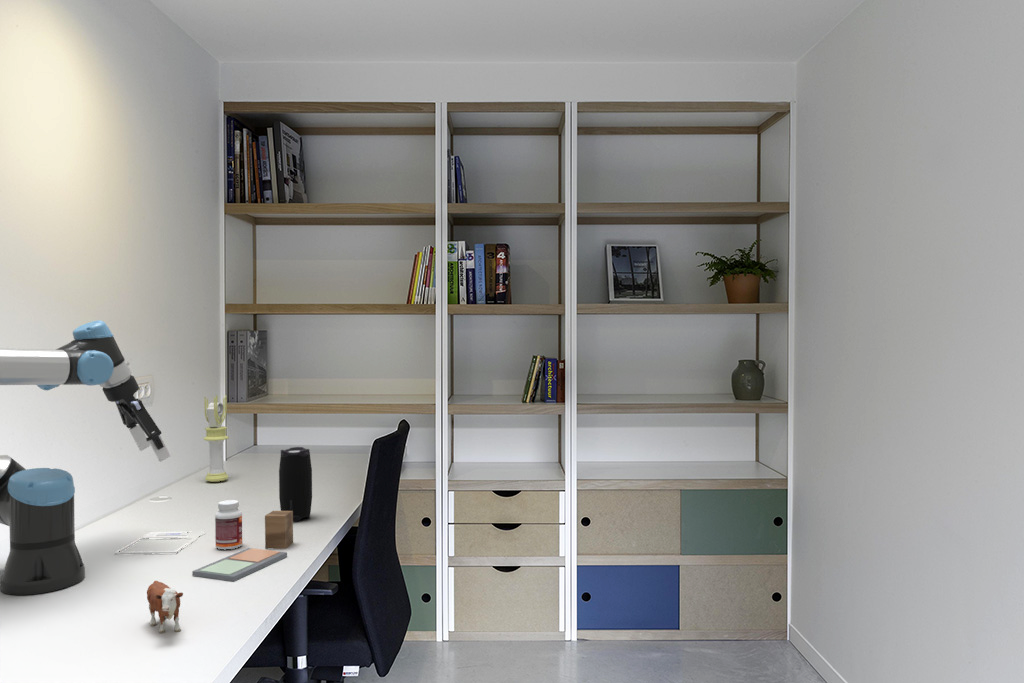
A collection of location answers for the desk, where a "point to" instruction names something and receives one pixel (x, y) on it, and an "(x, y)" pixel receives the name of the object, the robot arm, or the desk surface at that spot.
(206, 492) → the desk surface
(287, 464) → the portable speaker
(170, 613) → the bull figurine
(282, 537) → the walnut block
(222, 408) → the trophy
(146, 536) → the photo frame
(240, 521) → the pill bottle
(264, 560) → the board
